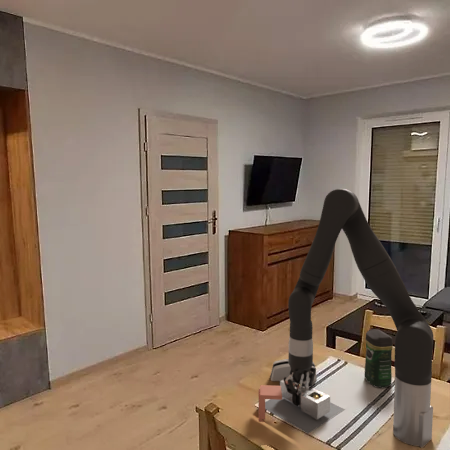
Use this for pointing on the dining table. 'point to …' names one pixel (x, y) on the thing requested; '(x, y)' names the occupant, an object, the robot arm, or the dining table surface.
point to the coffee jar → (378, 358)
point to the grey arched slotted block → (283, 370)
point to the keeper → (267, 397)
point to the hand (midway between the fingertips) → (299, 402)
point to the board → (299, 414)
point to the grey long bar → (309, 401)
